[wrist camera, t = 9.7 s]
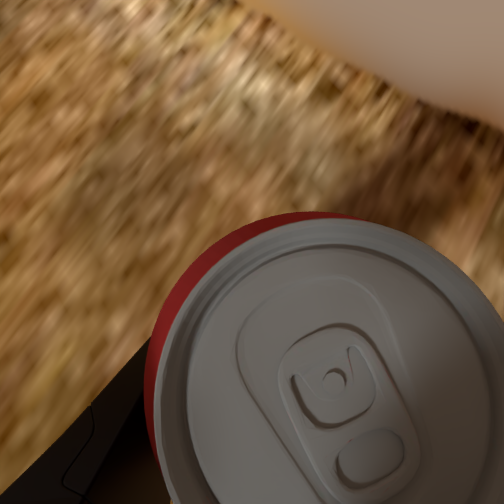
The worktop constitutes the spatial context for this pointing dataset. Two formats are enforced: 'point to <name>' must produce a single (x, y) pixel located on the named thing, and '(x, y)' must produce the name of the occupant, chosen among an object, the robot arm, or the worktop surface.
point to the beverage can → (326, 371)
